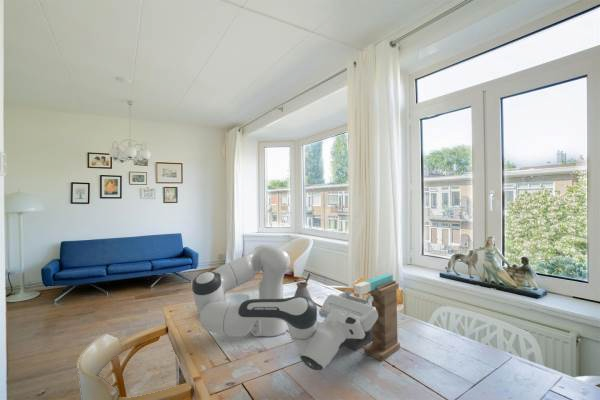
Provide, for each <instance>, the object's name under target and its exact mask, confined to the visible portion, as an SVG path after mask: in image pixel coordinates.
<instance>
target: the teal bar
mask: <svg viewBox="0 0 600 400" xmlns="http://www.w3.org/2000/svg"><path fill="white" fill-rule="evenodd" d="M393 280H394V275H393V274H389V273H384V274H381V275H378V276H375V277H373V278H370V279H367V280H364V281H361V282H358V283H356V284H354V285H353V293H354V294H356V295H361V296H362V295H364V294H368V293H367V292H370V291H372V290H375V289H376V287H378V286H381V285H383V284H386V283H388V282H391V281H393Z"/></svg>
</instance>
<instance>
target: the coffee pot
mask: <svg viewBox="0 0 600 400" xmlns="http://www.w3.org/2000/svg"><path fill="white" fill-rule="evenodd" d="M311 276H313V274H312V273H308V275H307V277H306V280H305V281H299V282H296V287H297V288H296V290H295V293H294V295H293V297H294V296H306V297H309V298H310V299H312V297H311V294H310V293H309V290H308V281H309V279H310V277H311Z"/></svg>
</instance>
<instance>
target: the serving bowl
mask: <svg viewBox="0 0 600 400" xmlns="http://www.w3.org/2000/svg"><path fill="white" fill-rule="evenodd" d="M225 297H226V302H244V301H246V300H251V299H252V298H251V297H252V296H251V295H249V294H247V293H246V294H245V293H239V292H238V293H237V292H235V293H225Z"/></svg>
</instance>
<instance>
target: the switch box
mask: <svg viewBox="0 0 600 400" xmlns="http://www.w3.org/2000/svg"><path fill="white" fill-rule="evenodd" d="M346 299H349V300H353V301H356V302H359V303H363V304H366V303H368V301H367V299H363V298H360V297H356V296H352V295H350V296H347V297H346ZM371 343H372V328H371V329H370V330H369V331H366V332H365V337H364V338H363V339H355V338H349V339H347V338H346V340H345V341H344V342H343V343H341V345H340V346H343V347H345V348H347V349H350V350H352V351H355V352H357V351H359V350H360V349H362V348H365V347H366V346H368V345H369V344H371Z"/></svg>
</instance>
